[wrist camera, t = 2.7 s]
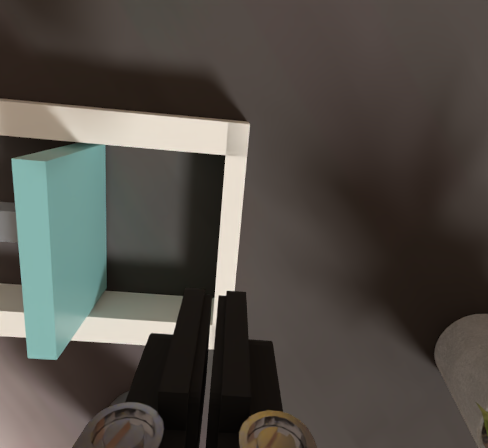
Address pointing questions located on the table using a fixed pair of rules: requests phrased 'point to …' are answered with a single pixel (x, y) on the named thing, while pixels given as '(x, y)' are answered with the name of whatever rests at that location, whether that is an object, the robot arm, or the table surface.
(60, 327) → the pusher
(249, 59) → the table surface
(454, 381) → the house plant
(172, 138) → the frame
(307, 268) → the table surface
